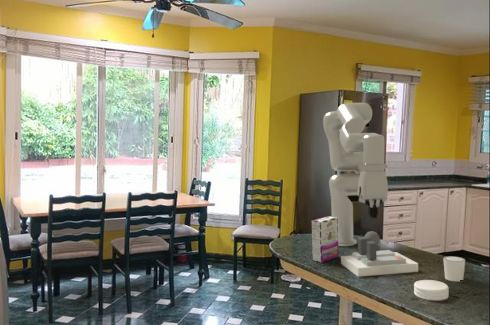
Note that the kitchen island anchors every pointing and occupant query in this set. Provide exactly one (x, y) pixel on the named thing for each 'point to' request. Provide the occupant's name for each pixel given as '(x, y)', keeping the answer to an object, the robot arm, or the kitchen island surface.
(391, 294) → the kitchen island surface
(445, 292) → the white ribbed round piece
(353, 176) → the robot arm
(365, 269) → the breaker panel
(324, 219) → the candy bar box
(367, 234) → the light bulb
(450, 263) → the light grey cup
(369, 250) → the handle
